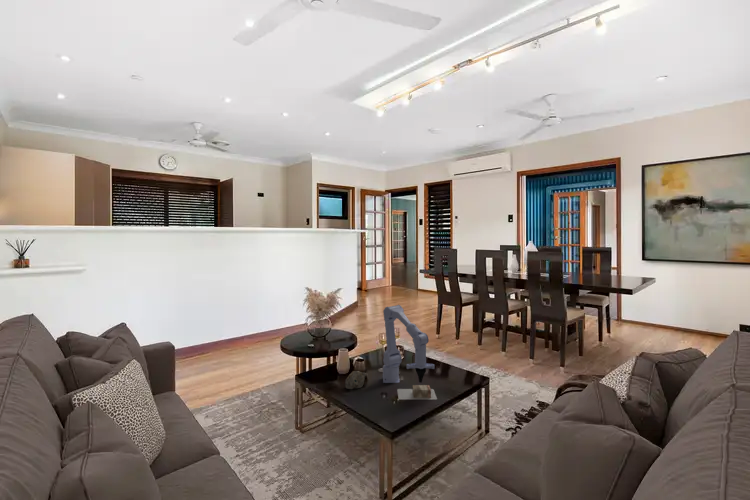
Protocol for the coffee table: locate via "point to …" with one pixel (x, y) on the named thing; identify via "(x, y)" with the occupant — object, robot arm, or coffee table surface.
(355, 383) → the rock
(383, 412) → the coffee table surface
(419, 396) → the wooden block
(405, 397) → the grey mat
